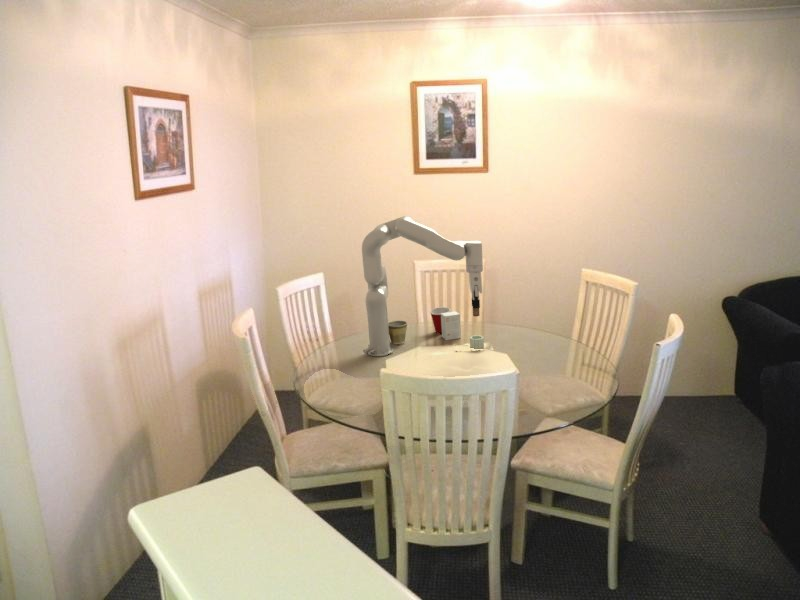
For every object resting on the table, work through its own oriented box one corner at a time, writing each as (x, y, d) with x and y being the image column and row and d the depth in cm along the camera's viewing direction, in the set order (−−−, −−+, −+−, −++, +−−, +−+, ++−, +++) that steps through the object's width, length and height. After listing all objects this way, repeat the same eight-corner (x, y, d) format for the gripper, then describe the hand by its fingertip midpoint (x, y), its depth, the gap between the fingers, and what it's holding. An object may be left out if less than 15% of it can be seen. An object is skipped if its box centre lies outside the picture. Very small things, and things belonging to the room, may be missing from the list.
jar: (479, 350, 299) (478, 340, 298) (467, 348, 303) (466, 338, 302) (486, 346, 304) (486, 336, 303) (475, 344, 308) (474, 334, 307)
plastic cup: (426, 333, 334) (424, 310, 331) (440, 328, 341) (439, 306, 338) (441, 336, 326) (440, 313, 323) (455, 331, 333) (454, 309, 330)
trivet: (454, 354, 299) (454, 352, 299) (452, 345, 311) (452, 344, 311) (493, 351, 299) (493, 350, 299) (490, 343, 310) (490, 342, 310)
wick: (477, 316, 298) (476, 291, 295) (471, 315, 300) (470, 290, 297) (480, 315, 300) (479, 290, 297) (475, 314, 302) (474, 289, 299)
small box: (457, 335, 326) (455, 311, 323) (461, 339, 320) (460, 314, 317) (441, 338, 324) (440, 313, 321) (445, 341, 318) (444, 316, 315)
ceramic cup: (406, 345, 315) (404, 326, 313) (386, 345, 317) (384, 326, 315) (410, 337, 327) (409, 318, 325) (391, 337, 329) (390, 318, 327)
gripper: (484, 271, 286) (486, 311, 291) (480, 264, 302) (481, 302, 307) (467, 272, 287) (469, 312, 291) (464, 265, 302) (466, 303, 307)
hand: (475, 306), depth 299 cm, fingers closed on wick, 3 cm apart
